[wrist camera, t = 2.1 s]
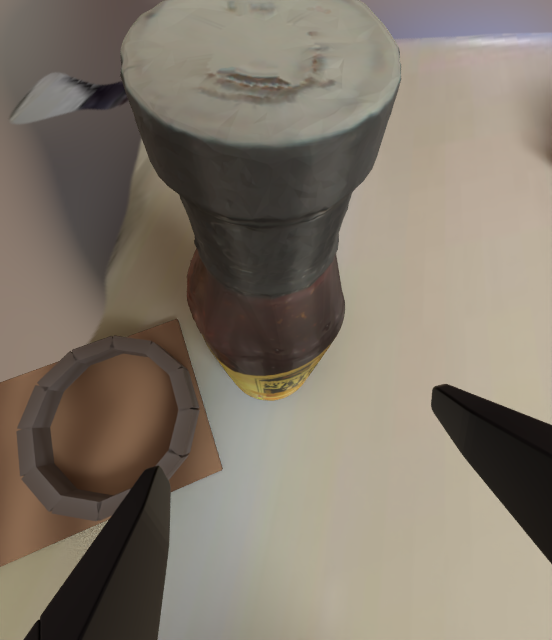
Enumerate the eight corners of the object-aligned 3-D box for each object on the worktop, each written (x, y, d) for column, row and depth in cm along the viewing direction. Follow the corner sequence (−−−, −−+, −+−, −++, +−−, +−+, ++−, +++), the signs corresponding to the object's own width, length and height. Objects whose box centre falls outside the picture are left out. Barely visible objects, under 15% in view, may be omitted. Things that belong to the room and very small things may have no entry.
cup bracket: (-50, 587, 18) (-89, 607, 16) (-51, 403, 21) (-83, 401, 19) (222, 469, 20) (217, 474, 18) (178, 320, 23) (169, 311, 22)
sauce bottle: (276, 419, 21) (270, 424, 2) (214, 367, 22) (-124, 88, 3) (326, 352, 23) (569, 26, 4) (266, 307, 24) (229, -98, 5)
